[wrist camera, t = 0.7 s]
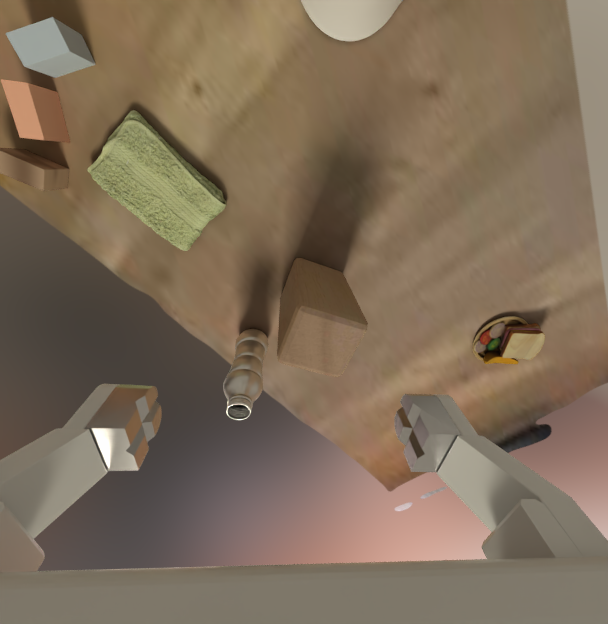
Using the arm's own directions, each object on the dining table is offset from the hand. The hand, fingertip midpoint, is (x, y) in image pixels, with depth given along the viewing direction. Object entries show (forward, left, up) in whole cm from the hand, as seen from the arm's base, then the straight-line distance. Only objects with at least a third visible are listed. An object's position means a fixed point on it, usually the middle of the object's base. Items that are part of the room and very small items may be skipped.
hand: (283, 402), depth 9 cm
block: (+14, +6, -43) cm, 46 cm away
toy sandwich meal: (+23, +51, -43) cm, 70 cm away
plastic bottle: (+27, -5, -43) cm, 51 cm away
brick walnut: (-2, -37, -43) cm, 57 cm away
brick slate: (-16, -30, -43) cm, 55 cm away
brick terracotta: (-9, -34, -43) cm, 56 cm away
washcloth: (-1, -20, -44) cm, 48 cm away
